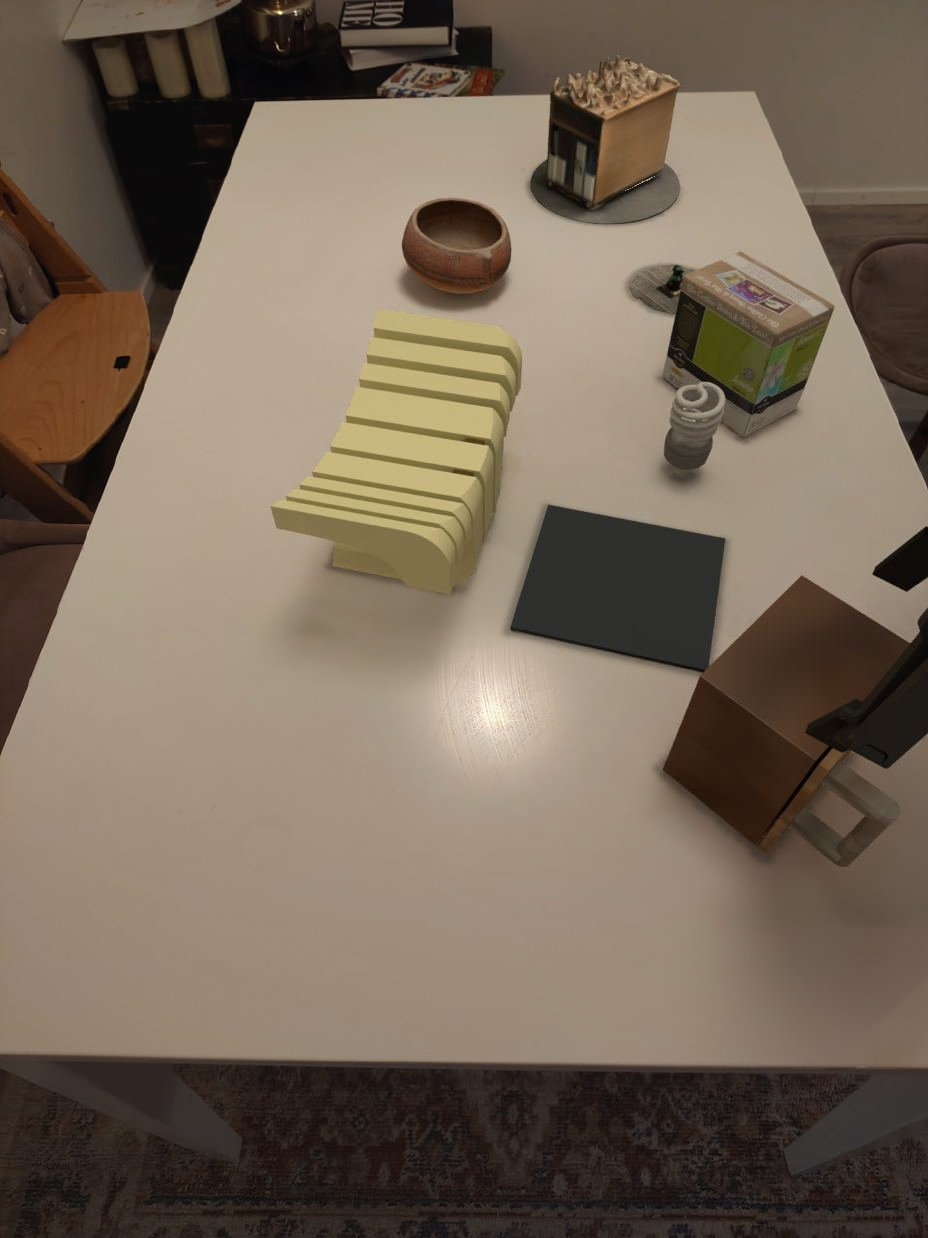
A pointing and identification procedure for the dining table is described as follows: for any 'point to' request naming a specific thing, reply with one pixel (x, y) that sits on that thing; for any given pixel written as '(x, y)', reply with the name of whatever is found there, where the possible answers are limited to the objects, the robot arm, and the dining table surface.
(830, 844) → the cupboard door
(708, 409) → the light bulb
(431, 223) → the bowl
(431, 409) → the slatted curved stool
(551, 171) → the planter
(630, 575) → the mat
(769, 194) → the dining table surface
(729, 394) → the tea box
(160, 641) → the dining table surface
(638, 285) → the sculpture
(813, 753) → the cupboard
